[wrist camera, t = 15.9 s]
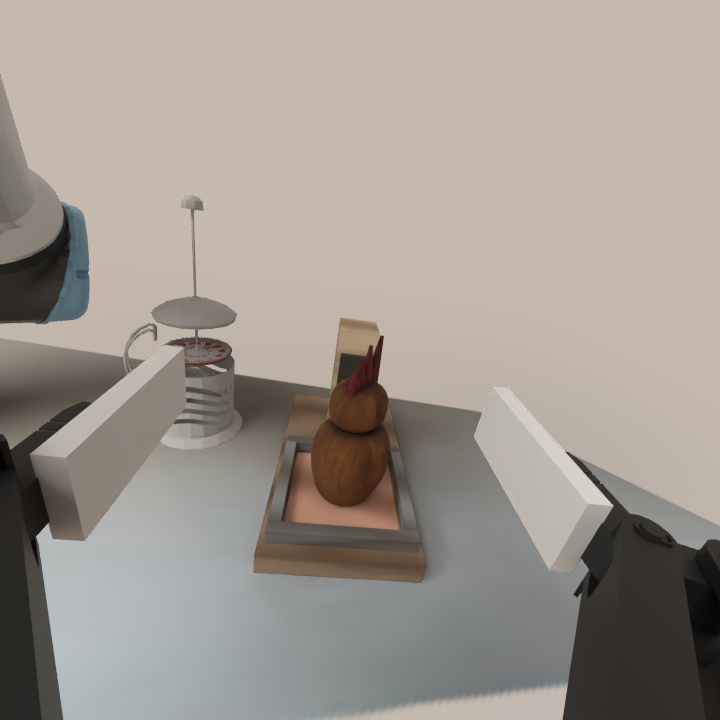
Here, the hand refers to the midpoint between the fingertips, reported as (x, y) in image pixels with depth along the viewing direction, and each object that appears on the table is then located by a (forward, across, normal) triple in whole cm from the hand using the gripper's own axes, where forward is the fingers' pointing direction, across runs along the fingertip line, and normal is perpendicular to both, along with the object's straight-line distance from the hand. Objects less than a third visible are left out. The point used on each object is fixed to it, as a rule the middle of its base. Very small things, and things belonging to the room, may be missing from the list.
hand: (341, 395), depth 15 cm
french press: (+22, -15, -19) cm, 33 cm away
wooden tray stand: (+17, +3, -19) cm, 25 cm away
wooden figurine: (+12, +3, -17) cm, 21 cm away
